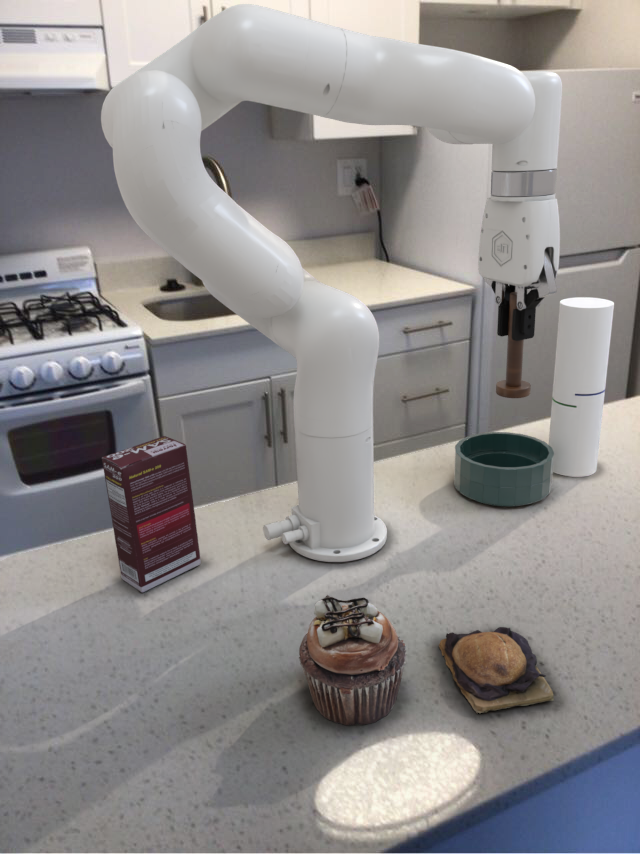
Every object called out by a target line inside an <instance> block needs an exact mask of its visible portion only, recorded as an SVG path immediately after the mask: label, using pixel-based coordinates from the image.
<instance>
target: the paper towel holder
mask: <svg viewBox="0 0 640 854" xmlns="http://www.w3.org/2000/svg"><path fill="white" fill-rule="evenodd" d="M513 309H518V308H517V292H512V293H510V301H509V322H508V335H507V343H506V344H507V347H506V367H505V368H506V370H505V379H503V380H499V381H497V382H496V384H495V394H496V395H497V396H499V397H502V398H506V399H524V398H527V397H529V396H530V395H531V388H532V385H531V383H529V382H528V381H526V380H522V379H523V363H524V362H523V361H524V342H525V340H520V341H514V340H512V318H513Z"/></svg>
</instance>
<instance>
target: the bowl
mask: <svg viewBox="0 0 640 854" xmlns="http://www.w3.org/2000/svg"><path fill="white" fill-rule="evenodd" d="M553 463H554V452H553V449H552V447H551V446H549V443H547V442H545V441H544V440H542V439H540V438H537V437H534V436H531V435H526V434H523V433H516V432H509V431H489V432H479V433H475V434H471V435H468V436H465V437H464V438H462V439H460V440H458V442H457V443H456V444H455V445H454V467H453V468H454V469H453V472H454V473H453V485H454V488H455V489H456V490H457V492H458V493H460V494H462V495H463V496H464V497H466V498H468V499H469V500H472V501H475V502H478V503H481V504H484V505H489V506H493V507H508V508H510V507H512V508H513V507H521V506H527V505H530V504H531V505H532V504H534V503H537V502H541V501H542V500H544V499H545V498H547V497H548V496H549V495H550V493H551V490H552V486H553V476H554V475H553V474H554V472H553Z"/></svg>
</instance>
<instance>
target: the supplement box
mask: <svg viewBox="0 0 640 854" xmlns="http://www.w3.org/2000/svg"><path fill="white" fill-rule="evenodd" d="M187 450H188V449H187V445H186V443H183V442H181V441H179V440H176V439H175V438H171V437H169V436H166V435H163V436H159V437H157V438H153V439H151V440H147V441H145V442H142V443H140V444H137V445H134V446H130V447H127V448H125V449H122V450H119V451H117V452H114V453H110V454H108V455H104V456H102V457H101V463H102V468H103V474H104V475H103V476H104V479H105V480H104V481H105V486H106V492H107V499H108V505H109V510H110V516H111V522H112V528H113V535H114V541H115V548H116V554H117V558H118V559H117V560H118V567H119V571H120V577H121V580H123V581H124V582H126V583H127V584H128V585H130V586H131V587H133V588H134V589H136V590H137V591H139V592H140V593H145V592H147V591H149V590H151V589H153V588H155V587H157V586H159V585H161V584H163V583H165V582H167V581H169V580H171V579H173V578H175V577H177V576H179V575H181V574H183V573H185V572H187V571H189V570H191V569H193V568H197V567H198V566H200V565H201V563H202V561H201V553H200V545H199V537H198V527H197V521H196V513H195V505H194V498H193V489H192V482H191V473H190V466H189V457H188V451H187Z"/></svg>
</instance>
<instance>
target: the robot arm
mask: <svg viewBox="0 0 640 854" xmlns="http://www.w3.org/2000/svg"><path fill="white" fill-rule="evenodd" d="M562 99H563V81H562V79H561V76H560V75H559V74H558V73H556V72H554V71H548V70H535V71H521V70H519V69H518V68H517V67H514V66H513V65H510V64H507V63H505V62H501V61H498V60H494V59H491V58H487V57H484V56H481V55H477V54H473V53H470V52H465V51H461V50H457V49H452V48H447V47H440V46H436V45H435V46H434V45H429V44H421V43H415V42H409V41H405V40H400V39H395V38H389V37H381V36H376V35H369V34H367V33H366V34H365V33H362V32H358V31H354V30H350V29H346V28H343V27H340V26H335V25H332V24H327V23H324V22H320V21H317V20H313V19H310V18H306V17H303V16H299V15H296V14H292V13H289V12H285V11H281V10H278V9H274V8H271V7H268V6H263V5H258V4H252V3H240V4H235V5H231V6H229V7H227V8H225V9H223V10H221V11H219V13H217V14H215V15H214V16H212V17H210V18H209V19H207V20H206V21H204V22H203V23H202V24H201V25H199V26H198V27H197V28H195V29H194V30H193V31H192V32H191V33H189V34H188V35H187V36H185V37H184V38H183V39H181V40H179V42H177V43H176V44H174V45H173V46H171V47H169V49H167V50H166V51H165V52H162V53H161V54H160V55H159V56H157V57H155V58H154V59H152V60H151V61H150V62H148V63H147V64H145V65H144V66H142V67H141V68H139V69H138V70H137V71H135V72H134V73H131V74H130V75H128V76H127V77H126V78H124V79H122V80H121V81H120V82H118V83H117V84H115V85H114V86H113V87H112V88H111V89H110V91H109V92H108V93H107V95H106V96H105V98H104V101H103V103H102V106H101V111H100V123H101V129H102V132H103V135H104V138H105V139H106V141H107V143H108V144H109V147H111V149H112V161H113V171H114V174H115V179H116V183H117V187H118V190H119V193H120V196H121V199H122V201H123V203H124V205H125V207H126V209H127V211H128V213H129V214H130V216H131V218H132V219H133V221H135V223H136V224H137V226H138V227H139V228H140V229H141V230H142V231H143V232H144V234H146V235H147V236H148V238H150V239H151V240H152V241H153V242H154V243H155V244H156V245H158V246H159V247H160V248H161V249H162V250H164V252H166V253H167V254H169V256H171V257H172V258H173V259H174V260H176V262H178V263H179V264H180V265H182V266H183V267H184V268H185V269H186V270H188V271H189V272H190V273H191V274H193V275H194V276H195V277H197V278H198V279H199V280H201V282H202V284H203V286H204V287H205V289H206V290H207V291H208V293H209V294H210V295H211V296H212V297H213V298H215V299H216V300H218V302H219V303H221V304H223V306H225V307H226V308H228V309H229V310H230V311H231V312H233V313H234V314H236V315H237V316H238V317H239V318H241V319H242V320H243V321H245V322H246V323H248V325H250V326H252V328H254V329H255V330H257V331H258V332H260V333H261V334H262V335H263V336H265V337H266V338H268V339H269V340H271V341H272V342H273V343H274V344H275V345H277V346H278V347H280V348H281V349H283V350H284V351H285V352H287V353H288V354H290V355H291V356H293V358H294V359H295V360H296V375H295V383H294V390H293V399H292V400H293V402H292V403H293V404H292V405H293V409H292V410H293V428H294V445H295V463H296V464H295V465H296V479H297V480H296V482H297V483H296V484H297V501H298V502H297V503H298V504H297V505H292V506H291V507H290V510H291V511H290V513H291V515H287V516H285V519H283V520H280V521H274V522H269V523H267V524H264V525H263V526H262V532H263V535H264V537H265V539H266V540H267V541H271V540H274V539H279V538H281V541H282V543H283V544H284V545H287V544H288V545H289V546H290V547H291V548H292V550H294V551H295V552H296V553H297V554H299V555H301V556H303V557H305V558H308V559H310V560H315V561H319V562H327V563H346V562H347V563H348V562H352V561H353V562H354V561H358V560H361V559H364V558H367V557H370V556H371V555H373V554H375V553H377V552H378V551H380V550H381V549H382V548H383V547H384V545H385V544H386V542H387V539H388V529H387V526H386V523H385V522H384V520H382V519H381V518H380V517H379V516H377V515H376V514H375V467H374V466H375V465H374V464H375V463H374V462H375V458H374V456H375V454H374V453H375V451H374V388H375V387H374V386H375V376H376V370H377V369H376V368H377V365H378V357H379V353H380V352H379V351H380V330H379V326H378V323H377V320H376V318H375V316H374V314H373V313H372V311H371V310H370V308H368V306H367V305H366V304H365V303H364V302H363V301H361V300H360V299H359V298H358V297H356V296H354V295H353V294H352V293H349V292H346V291H344V290H341V289H339V288H336V287H334V286H332V285H331V286H330V285H328V284H326V283H323V282H321V281H320V280H318V278H316V277H315V276H314V275H312V274H311V273H310V272H308V271H307V270H306V269H305V268H304V267H303V265H302V263H301V261H300V258H299V256H298V255H297V253H296V252H295V251H294V249H293V248H292V247H291V246H290V245H289V244H288V243H287V241H285V240H284V239H283V238H281V237H280V236H278V235H277V234H275V233H274V232H273V231H271V230H270V229H269V228H267V227H266V226H265V225H264V224H262V223H261V222H260V221H259V220H258V219H256V218H255V217H254V216H253V215H251V214H250V213H249V212H248V211H246V210H245V209H244V208H243V207H242V206H241V205H239V204H238V203H237V202H236V201H235V200H234V199H233V198H232V197H231V196H230V195H229V194H228V193H227V192H226V191H224V190H223V189H222V188H221V187H220V186H219V185H217V183H216V182H215V181H214V180H213V178H212V177H211V176H210V174H209V173H208V171H207V170H206V167H205V164H204V162H203V158H202V152H201V136H202V131H204V130H206V129H207V128H208V127H209V126H211V125H212V124H214V123H215V122H217V121H218V120H219V119H221V118H222V117H223V116H224V115H226V114H227V113H229V111H231V110H232V109H233V108H235V107H237V106H238V105H239V104H240V103H242V102H245V101H247V102H253V103H258V104H261V105H262V104H263V105H267V106H271V107H276V108H281V109H285V110H290V111H294V112H299V113H304V114H308V115H313V116H316V117H317V116H318V117H320V118H325V119H329V120H333V121H334V120H335V121H338V122H343V123H347V124H358V125H362V126H363V125H364V126H365V125H366V126H410V127H419V128H420V127H421V128H426V129H427V131H428V132H429V133H430V134H431V135H432V136H433V137H434V138H436V139H437V140H438V141H441V142H443V143H447V144H451V145H487V144H488V145H491V147H492V148H491V174H490V175H491V177H490V197H487V199H486V202H485V205H484V209H483V215H482V221H481V228H480V235H479V246H478V262H477V267H478V269H477V270H478V274H479V275H480V276H481V277H482V278H483V281H484V282H485V283H486V284H487V285H488V286H490V287H491V289H492V291H493V293H494V301H495V304H496V305H498V306H497V307H498V308H497V327H496V329H497V330H496V331H497V332H496V334H497V336H499V337H508V322H509V301H510V293H512V292H517V308H518V309H513V318H512V340H514V341H520V340H524V341H525V340H528V339H533V338H534V337H535V331H536V314H537V308H539V307H540V306H541V302H542V301H543V300H544V299H545V298H547V297H549V296H552V295H555V294H556V293H557V292H558V287H557V283H556V279H557V278H558V277H557V276H558V272H559V267H560V251H561V229H560V228H561V226H560V211H559V203H558V198H556V194H557V193H556V192H557V177H558V176H557V175H558V162H559V161H558V160H559V144H560V133H561V132H560V130H561V129H560V128H561V117H562V115H561V114H562V101H563V100H562ZM528 290H529V292H528Z"/></svg>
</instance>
